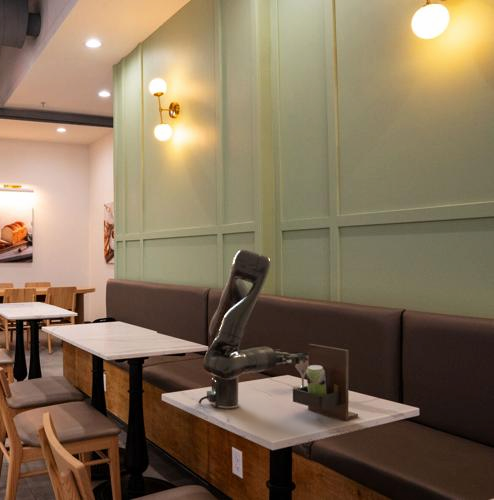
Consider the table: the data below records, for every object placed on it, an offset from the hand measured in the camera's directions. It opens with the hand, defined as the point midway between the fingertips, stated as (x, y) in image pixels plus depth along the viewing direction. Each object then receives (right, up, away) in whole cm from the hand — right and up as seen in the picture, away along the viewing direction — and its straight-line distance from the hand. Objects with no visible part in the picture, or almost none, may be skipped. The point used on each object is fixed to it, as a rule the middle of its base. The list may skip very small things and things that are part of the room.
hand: (291, 354), depth 171 cm
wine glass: (+21, -25, +47) cm, 57 cm away
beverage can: (+11, -18, +8) cm, 22 cm away
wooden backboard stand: (+14, -24, +10) cm, 29 cm away
